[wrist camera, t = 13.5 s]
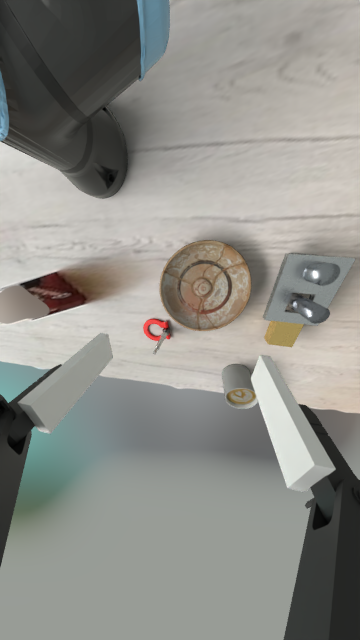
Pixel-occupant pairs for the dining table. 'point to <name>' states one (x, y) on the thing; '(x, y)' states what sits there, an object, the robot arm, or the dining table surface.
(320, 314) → the pin
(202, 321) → the ceramic bowl
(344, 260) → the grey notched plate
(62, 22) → the robot arm
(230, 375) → the coffee mug
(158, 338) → the tow hook
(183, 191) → the dining table surface
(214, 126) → the dining table surface
